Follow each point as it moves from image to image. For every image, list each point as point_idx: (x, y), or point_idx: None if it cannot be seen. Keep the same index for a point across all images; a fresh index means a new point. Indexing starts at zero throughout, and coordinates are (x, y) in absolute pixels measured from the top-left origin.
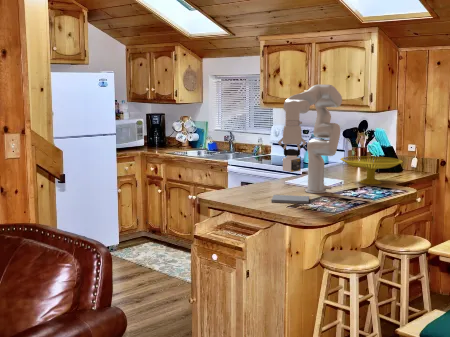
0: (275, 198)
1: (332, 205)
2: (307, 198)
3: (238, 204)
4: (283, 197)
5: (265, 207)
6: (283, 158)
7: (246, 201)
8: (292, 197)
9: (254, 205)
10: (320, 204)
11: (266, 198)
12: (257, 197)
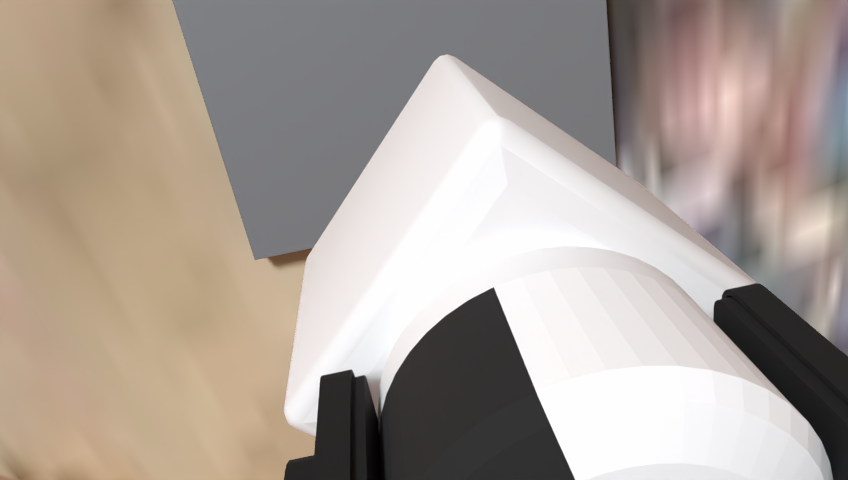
0: (270, 190)
1: (825, 151)
2: (594, 51)
3: (29, 438)
4: (332, 102)
5: (290, 444)
6: (309, 430)
7: (18, 305)
8: (426, 61)
9: (174, 418)
10: (718, 152)
11: (125, 79)
12: (3, 64)
